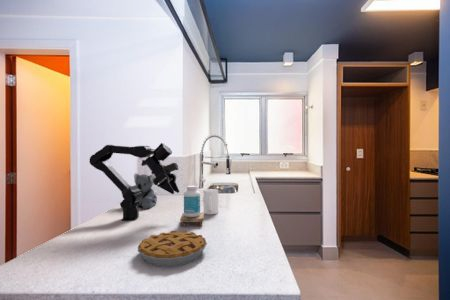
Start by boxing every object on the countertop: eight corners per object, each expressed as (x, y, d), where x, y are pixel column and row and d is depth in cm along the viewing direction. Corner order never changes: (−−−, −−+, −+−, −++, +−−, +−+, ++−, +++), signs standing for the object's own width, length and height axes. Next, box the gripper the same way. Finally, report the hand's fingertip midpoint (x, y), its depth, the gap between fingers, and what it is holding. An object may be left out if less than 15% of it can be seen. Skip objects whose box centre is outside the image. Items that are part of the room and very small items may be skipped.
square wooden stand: (180, 227, 113) (180, 219, 113) (182, 220, 123) (182, 213, 123) (203, 226, 114) (203, 218, 114) (203, 220, 124) (203, 212, 124)
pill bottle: (202, 217, 116) (202, 186, 116) (185, 218, 114) (185, 187, 113) (197, 213, 123) (197, 184, 123) (182, 214, 121) (182, 185, 120)
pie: (177, 237, 101) (177, 224, 101) (219, 251, 87) (219, 237, 87) (124, 256, 84) (124, 240, 84) (167, 277, 70) (166, 259, 70)
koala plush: (122, 208, 149) (121, 174, 149) (139, 201, 166) (138, 171, 166) (149, 209, 145) (149, 174, 145) (163, 202, 163) (163, 171, 162)
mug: (201, 216, 130) (201, 192, 130) (203, 210, 142) (203, 188, 142) (217, 216, 130) (217, 192, 130) (218, 210, 142) (218, 188, 142)
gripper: (163, 154, 115) (185, 182, 113) (174, 157, 133) (193, 181, 131) (143, 170, 114) (165, 198, 112) (157, 171, 133) (176, 195, 131)
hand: (176, 192), depth 122 cm, fingers open, 9 cm apart
